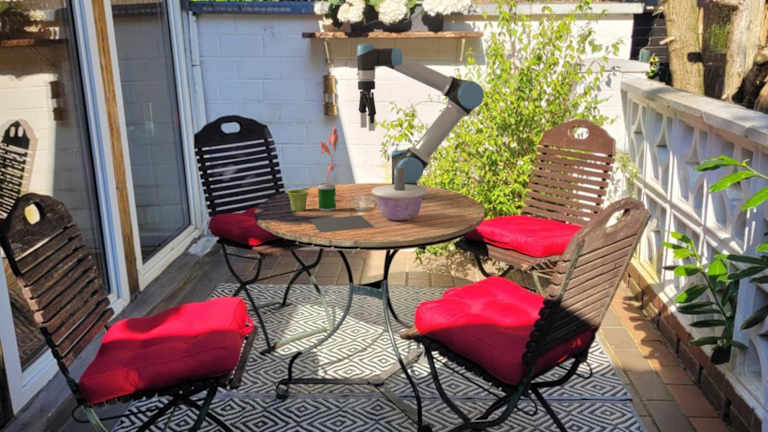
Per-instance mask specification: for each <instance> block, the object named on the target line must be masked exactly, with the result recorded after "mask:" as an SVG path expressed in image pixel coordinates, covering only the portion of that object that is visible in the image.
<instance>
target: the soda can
mask: <svg viewBox="0 0 768 432" xmlns="http://www.w3.org/2000/svg"><path fill="white" fill-rule="evenodd" d="M317 191H318V195H317V196H318V209H319V210H320V211H321V212H332V211H335V210H336V209H337V201H336V200H337V197H336V194H337V192H336V185H335V184H334V183H331V182H330V183H329V182H328V183H327V182H323V183H322V182H321V183H320V184H319V185H318V187H317Z"/></svg>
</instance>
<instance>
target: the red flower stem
mask: <svg viewBox="0 0 768 432" xmlns="http://www.w3.org/2000/svg"><path fill="white" fill-rule="evenodd" d="M330 137H331V138H330ZM319 143H320V150H321V152H320V154H321V156H323V155H324V152H325V153H326V154H328V155H330V156H331V162H330V163H331V165H328V168H327V169H328V171H327V175H326V180H327V182H326V183H331V180H330V173H331V172H333V170H334V169H335V168H334V165H333V161H334V158H333V157H334V155H333V154H332V153H331V150H330V148H329V144H330V143H332V144H331V145H332V151H333V152H336V147H337V145H338V144H339V135H338V131H337V126H336V125H335V124H333V129H332V133H331V132H330V133H329V135H328V140H327V143H324V142H322V141H319ZM345 195H347V196H348V194H347V193H346V194H345Z"/></svg>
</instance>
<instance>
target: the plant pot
mask: <svg viewBox="0 0 768 432" xmlns="http://www.w3.org/2000/svg"><path fill="white" fill-rule="evenodd" d="M286 193H287V194H288V197H289V201H290V209H291V211H292V212H296V213H302V212H304V211H306V209H307V199H308V194H309V190H308V189H291V190H288V191H287V192H286Z"/></svg>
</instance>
